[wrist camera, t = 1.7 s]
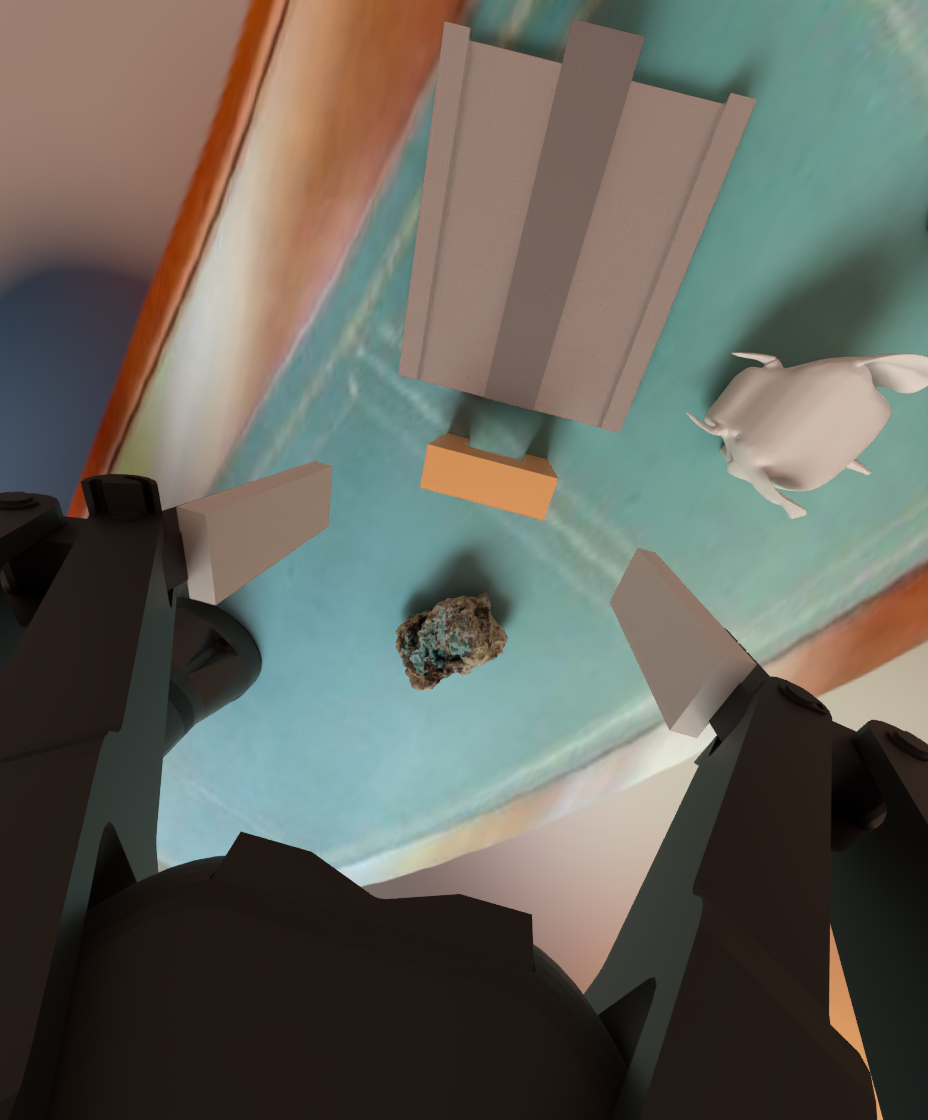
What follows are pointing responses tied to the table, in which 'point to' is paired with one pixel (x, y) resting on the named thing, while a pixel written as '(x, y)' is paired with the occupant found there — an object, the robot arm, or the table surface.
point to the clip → (489, 477)
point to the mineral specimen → (449, 640)
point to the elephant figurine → (806, 418)
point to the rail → (557, 221)
